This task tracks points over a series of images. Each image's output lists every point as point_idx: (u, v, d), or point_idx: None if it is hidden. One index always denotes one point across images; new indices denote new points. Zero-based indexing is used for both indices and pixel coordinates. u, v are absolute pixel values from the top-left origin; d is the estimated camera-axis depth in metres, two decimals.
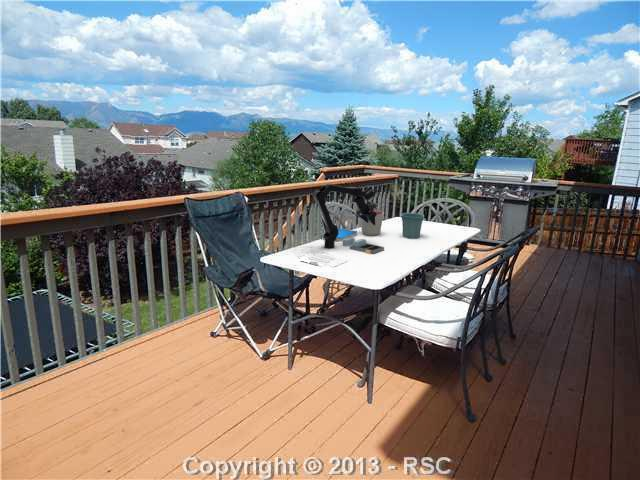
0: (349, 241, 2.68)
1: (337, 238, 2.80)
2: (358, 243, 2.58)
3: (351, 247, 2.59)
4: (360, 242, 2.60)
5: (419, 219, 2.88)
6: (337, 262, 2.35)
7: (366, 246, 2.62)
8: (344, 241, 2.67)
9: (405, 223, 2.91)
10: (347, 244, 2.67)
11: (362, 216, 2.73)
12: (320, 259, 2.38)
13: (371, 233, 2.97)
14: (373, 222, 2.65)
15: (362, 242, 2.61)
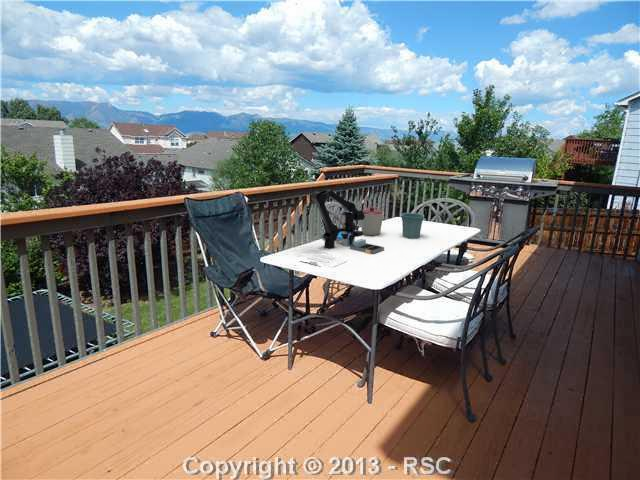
0: None
1: (338, 238, 2.80)
2: (358, 243, 2.58)
3: (351, 247, 2.59)
4: (360, 242, 2.60)
5: (419, 219, 2.88)
6: (336, 262, 2.34)
7: (366, 246, 2.62)
8: (344, 241, 2.67)
9: (405, 223, 2.91)
10: (347, 244, 2.67)
11: (345, 235, 2.70)
12: (319, 259, 2.38)
13: (371, 233, 2.97)
14: (351, 241, 2.68)
15: (362, 242, 2.61)
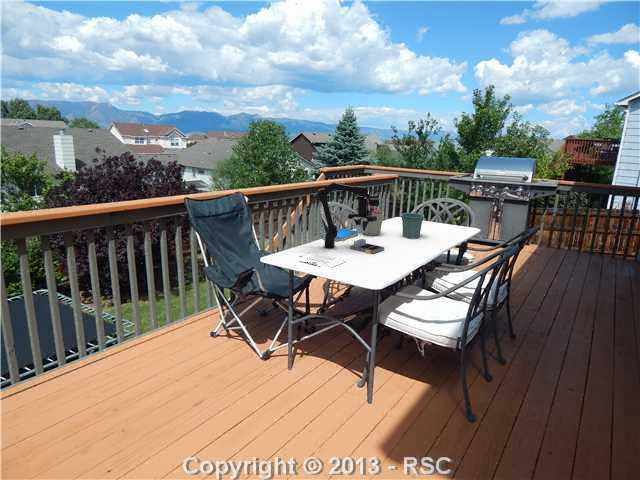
0: None
1: (338, 238, 2.80)
2: (358, 243, 2.58)
3: (351, 247, 2.59)
4: (360, 242, 2.60)
5: (419, 219, 2.88)
6: (336, 262, 2.34)
7: (366, 246, 2.62)
8: (358, 227, 2.57)
9: (405, 223, 2.91)
10: (361, 230, 2.57)
11: (358, 221, 2.59)
12: (319, 259, 2.38)
13: (371, 233, 2.97)
14: (365, 227, 2.58)
15: (362, 242, 2.61)
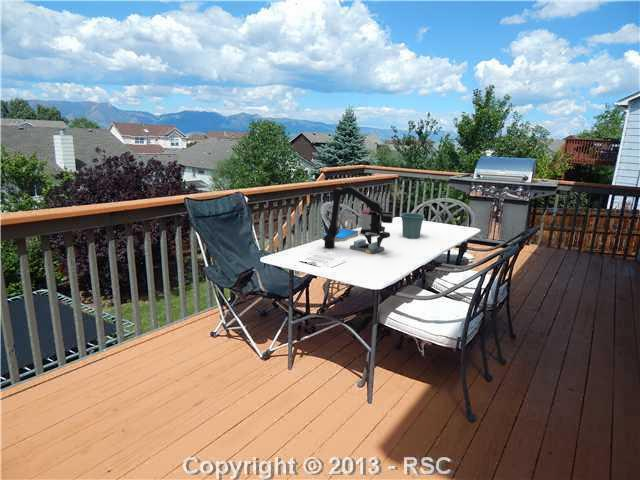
0: (375, 246, 2.53)
1: (339, 238, 2.80)
2: (358, 243, 2.58)
3: (351, 247, 2.59)
4: (360, 242, 2.60)
5: (419, 219, 2.88)
6: (336, 262, 2.34)
7: (366, 246, 2.62)
8: (370, 246, 2.51)
9: (405, 223, 2.91)
10: (373, 249, 2.52)
11: (368, 236, 2.55)
12: (319, 259, 2.38)
13: None
14: (379, 243, 2.51)
15: (362, 242, 2.61)
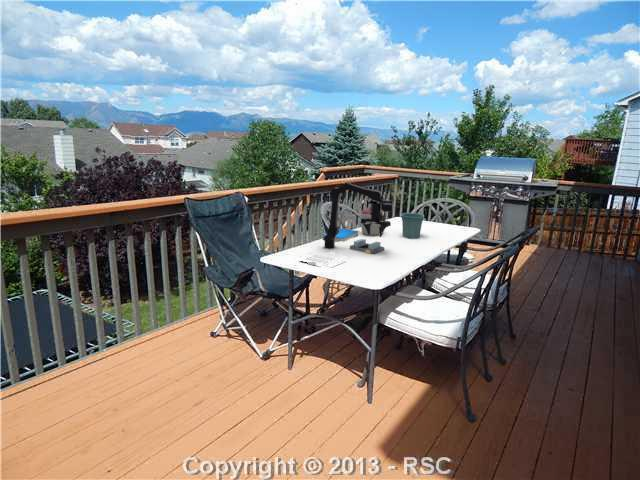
0: (375, 246, 2.53)
1: (339, 238, 2.80)
2: (358, 243, 2.58)
3: (351, 247, 2.59)
4: (360, 242, 2.60)
5: (419, 219, 2.88)
6: (335, 262, 2.34)
7: (366, 246, 2.62)
8: (370, 246, 2.51)
9: (405, 223, 2.91)
10: (373, 249, 2.52)
11: (367, 225, 2.54)
12: (318, 259, 2.38)
13: (371, 233, 2.97)
14: (381, 233, 2.49)
15: (362, 242, 2.61)
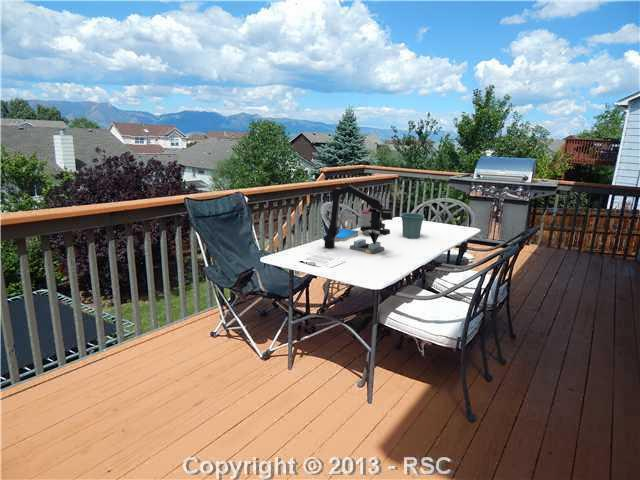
0: (375, 246, 2.53)
1: (339, 238, 2.80)
2: (358, 243, 2.58)
3: (351, 247, 2.59)
4: (360, 242, 2.60)
5: (419, 219, 2.88)
6: (335, 262, 2.34)
7: (366, 246, 2.62)
8: (370, 246, 2.51)
9: (405, 223, 2.91)
10: (373, 249, 2.52)
11: (372, 234, 2.52)
12: None
13: None
14: (375, 239, 2.53)
15: (362, 242, 2.61)
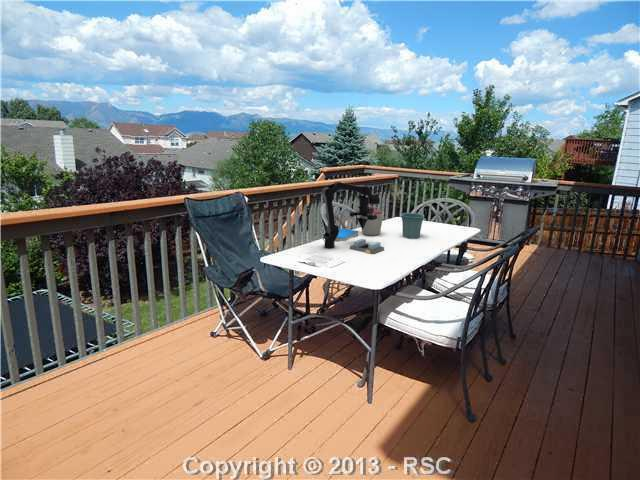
0: (375, 246, 2.53)
1: (340, 238, 2.80)
2: (358, 243, 2.58)
3: (351, 247, 2.59)
4: (360, 242, 2.60)
5: (419, 219, 2.88)
6: (335, 262, 2.34)
7: (366, 246, 2.62)
8: (370, 246, 2.51)
9: (405, 223, 2.91)
10: (373, 249, 2.52)
11: None
12: None
13: (371, 233, 2.97)
14: (363, 224, 2.67)
15: (362, 242, 2.61)
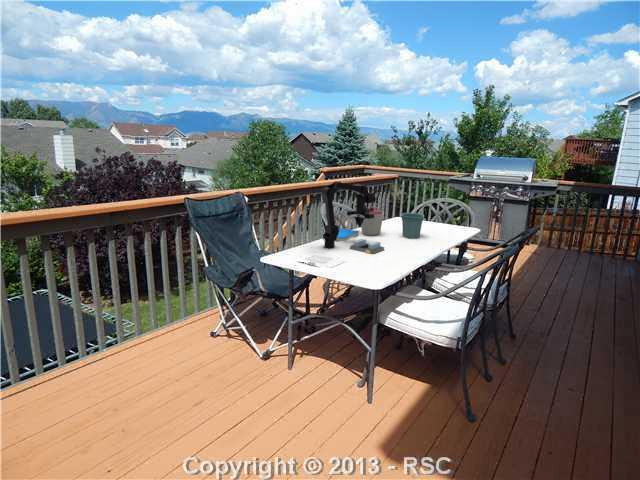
0: (375, 246, 2.53)
1: (340, 238, 2.80)
2: (358, 243, 2.58)
3: (351, 247, 2.59)
4: (360, 242, 2.60)
5: (419, 219, 2.88)
6: (335, 262, 2.34)
7: (366, 246, 2.62)
8: (370, 246, 2.51)
9: (405, 223, 2.91)
10: (373, 249, 2.52)
11: (358, 218, 2.70)
12: None
13: (371, 233, 2.97)
14: (361, 223, 2.70)
15: (362, 242, 2.61)
